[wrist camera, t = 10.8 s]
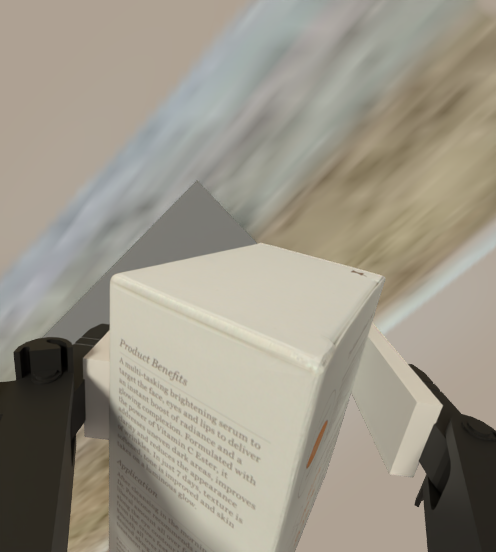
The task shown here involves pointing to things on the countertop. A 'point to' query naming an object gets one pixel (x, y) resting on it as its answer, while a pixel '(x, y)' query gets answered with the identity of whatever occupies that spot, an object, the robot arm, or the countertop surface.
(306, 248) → the countertop surface
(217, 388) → the small box
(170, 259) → the slate mat
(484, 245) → the countertop surface
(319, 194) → the countertop surface
